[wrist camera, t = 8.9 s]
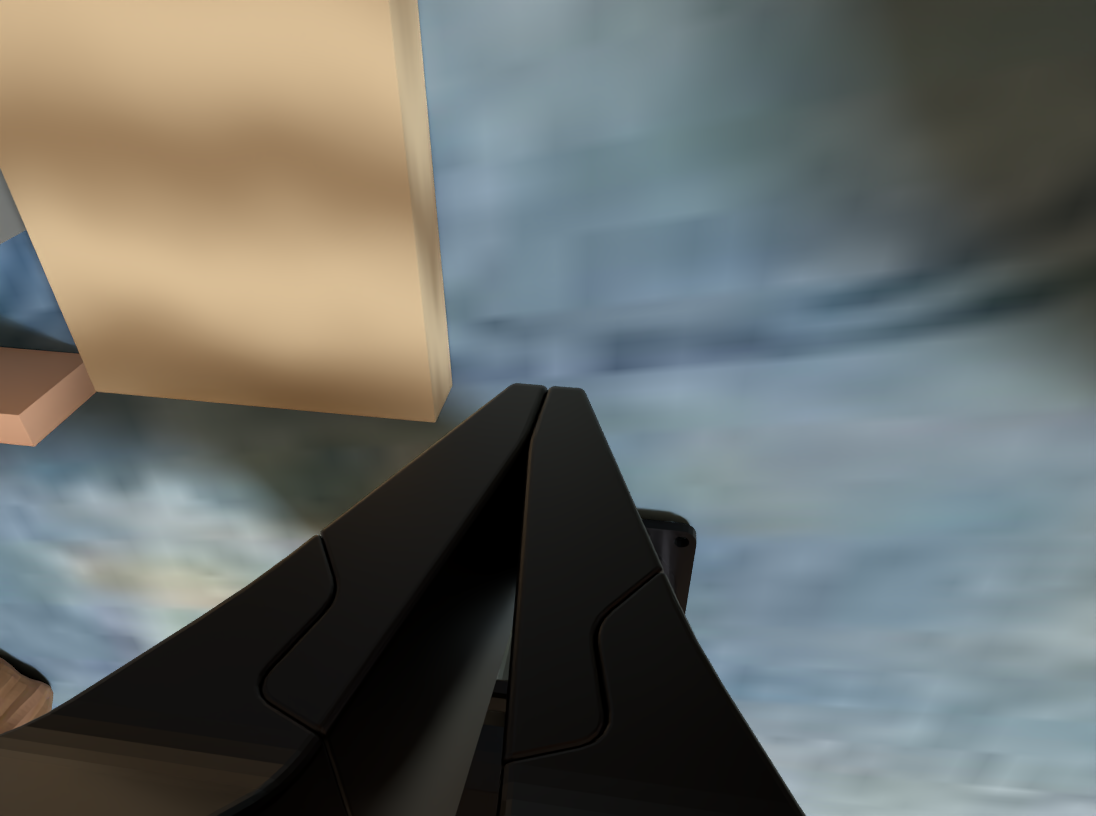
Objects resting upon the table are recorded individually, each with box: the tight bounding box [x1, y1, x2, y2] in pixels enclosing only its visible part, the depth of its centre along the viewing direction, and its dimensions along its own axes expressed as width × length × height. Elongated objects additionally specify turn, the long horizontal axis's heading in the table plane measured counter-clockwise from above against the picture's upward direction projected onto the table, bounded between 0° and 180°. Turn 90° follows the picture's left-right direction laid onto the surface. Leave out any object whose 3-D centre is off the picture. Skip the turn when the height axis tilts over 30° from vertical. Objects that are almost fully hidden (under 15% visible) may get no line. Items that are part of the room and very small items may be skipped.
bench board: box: [0, 0, 452, 422], centre depth 20 cm, size 14×11×2 cm
